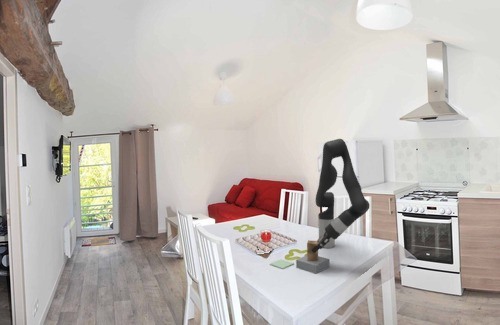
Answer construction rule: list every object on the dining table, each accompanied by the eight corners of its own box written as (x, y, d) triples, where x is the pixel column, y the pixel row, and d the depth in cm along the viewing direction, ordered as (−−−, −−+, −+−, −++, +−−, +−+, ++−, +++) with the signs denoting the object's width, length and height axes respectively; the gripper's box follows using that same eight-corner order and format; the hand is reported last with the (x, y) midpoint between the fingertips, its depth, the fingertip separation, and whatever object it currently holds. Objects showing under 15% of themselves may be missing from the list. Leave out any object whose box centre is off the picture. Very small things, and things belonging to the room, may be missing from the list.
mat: (280, 260, 176) (280, 259, 176) (293, 264, 170) (293, 263, 170) (269, 264, 170) (269, 263, 170) (282, 269, 164) (282, 268, 164)
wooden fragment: (256, 244, 206) (256, 243, 206) (273, 244, 205) (273, 243, 205) (254, 259, 181) (254, 257, 180) (273, 259, 180) (273, 257, 180)
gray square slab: (310, 261, 174) (310, 253, 174) (329, 266, 165) (329, 259, 165) (296, 267, 166) (296, 259, 165) (315, 273, 157) (315, 265, 157)
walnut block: (318, 258, 167) (317, 240, 166) (317, 261, 162) (317, 243, 162) (308, 257, 168) (308, 240, 168) (307, 260, 164) (307, 243, 163)
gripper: (331, 219, 168) (309, 239, 172) (330, 225, 155) (306, 247, 159) (342, 229, 167) (319, 250, 171) (342, 237, 154) (317, 259, 157)
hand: (313, 249), depth 165 cm, fingers open, 8 cm apart
